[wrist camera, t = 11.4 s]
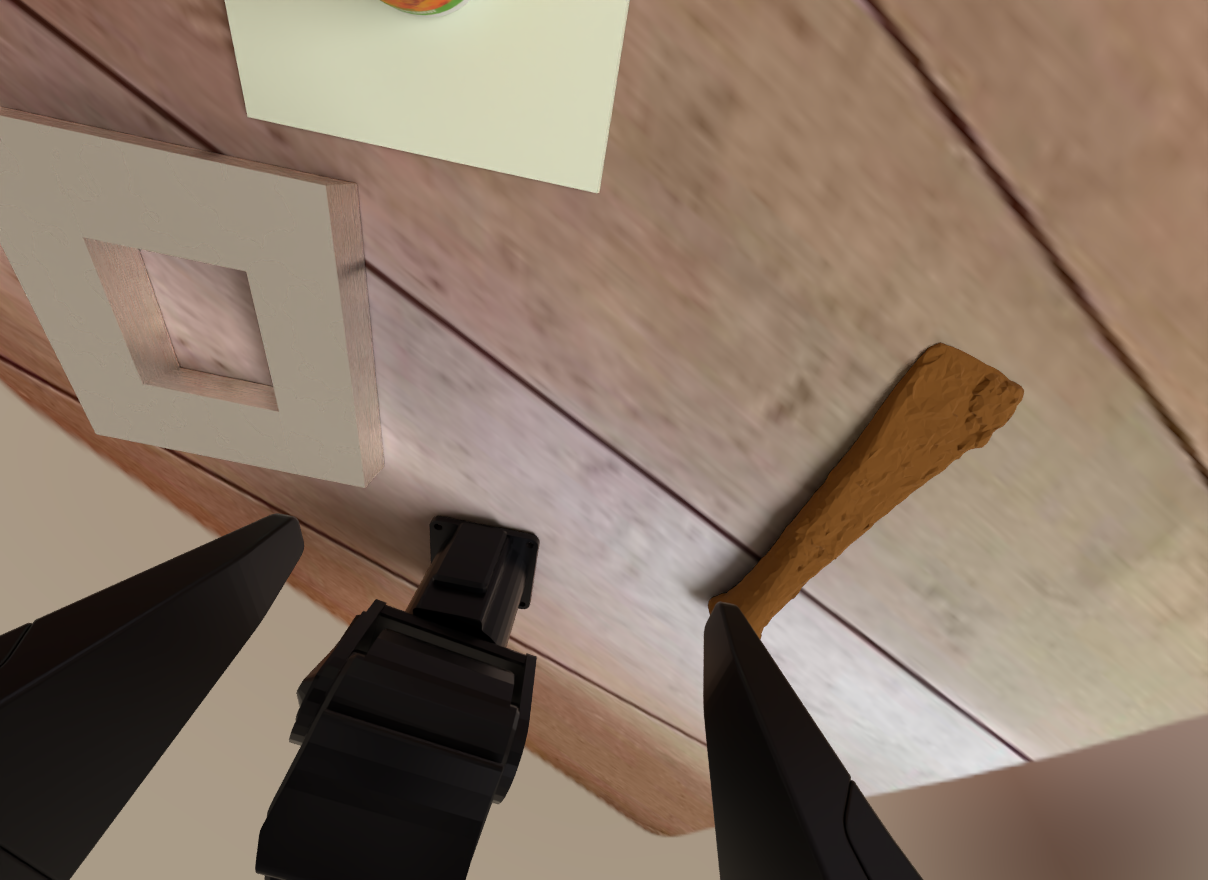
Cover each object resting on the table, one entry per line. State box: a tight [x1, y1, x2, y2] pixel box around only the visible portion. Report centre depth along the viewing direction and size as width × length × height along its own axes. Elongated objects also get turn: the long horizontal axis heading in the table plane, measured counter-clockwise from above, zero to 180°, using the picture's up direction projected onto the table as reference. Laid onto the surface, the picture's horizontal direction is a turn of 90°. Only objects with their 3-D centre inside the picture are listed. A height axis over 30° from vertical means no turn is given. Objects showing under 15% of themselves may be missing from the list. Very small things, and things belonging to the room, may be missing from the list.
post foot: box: [0, 107, 384, 488], centre depth 20 cm, size 14×14×2 cm
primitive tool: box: [708, 343, 1024, 639], centre depth 23 cm, size 19×6×4 cm, turn 156°
